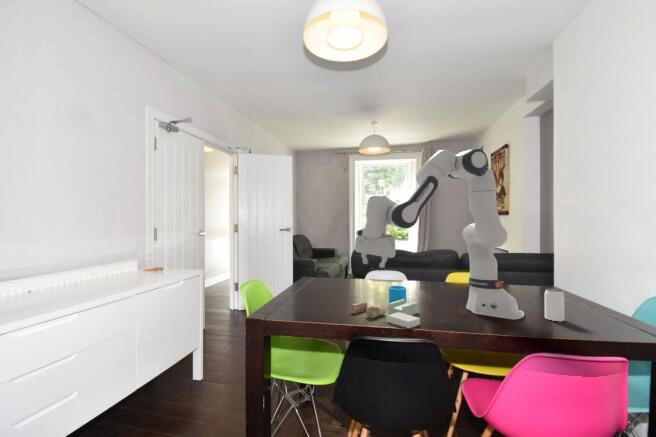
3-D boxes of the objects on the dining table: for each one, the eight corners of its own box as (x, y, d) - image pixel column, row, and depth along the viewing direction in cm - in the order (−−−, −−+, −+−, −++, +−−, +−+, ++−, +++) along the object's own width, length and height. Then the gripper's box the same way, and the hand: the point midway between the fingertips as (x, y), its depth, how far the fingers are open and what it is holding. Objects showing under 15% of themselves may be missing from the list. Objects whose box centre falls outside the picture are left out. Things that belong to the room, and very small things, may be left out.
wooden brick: (366, 310, 138) (367, 302, 138) (355, 313, 132) (355, 305, 132) (363, 309, 139) (363, 301, 139) (351, 312, 133) (351, 304, 133)
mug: (408, 307, 143) (408, 289, 143) (390, 307, 143) (390, 289, 143) (402, 300, 155) (402, 284, 155) (385, 300, 155) (385, 284, 155)
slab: (419, 325, 118) (419, 318, 118) (408, 329, 114) (408, 321, 114) (398, 319, 126) (398, 312, 126) (387, 322, 121) (387, 315, 121)
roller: (386, 315, 130) (386, 305, 130) (374, 319, 125) (374, 308, 125) (377, 313, 133) (377, 302, 133) (365, 317, 128) (366, 306, 128)
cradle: (418, 312, 134) (418, 302, 134) (404, 318, 126) (404, 307, 126) (402, 308, 140) (402, 298, 140) (388, 314, 132) (388, 303, 132)
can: (559, 323, 120) (558, 292, 121) (541, 318, 126) (541, 289, 126) (567, 320, 123) (567, 290, 124) (550, 316, 129) (549, 287, 129)
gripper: (399, 235, 125) (397, 269, 125) (363, 231, 141) (361, 261, 141) (389, 234, 121) (387, 270, 121) (353, 231, 137) (351, 262, 137)
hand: (373, 265), depth 131 cm, fingers open, 8 cm apart
